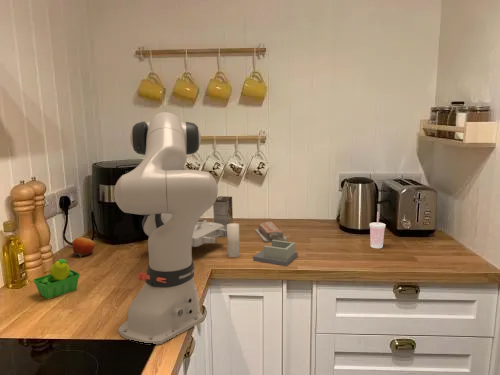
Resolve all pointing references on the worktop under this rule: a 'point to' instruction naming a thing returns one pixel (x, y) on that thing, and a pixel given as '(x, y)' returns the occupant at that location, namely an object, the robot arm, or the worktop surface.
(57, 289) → the fruit basket
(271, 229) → the packaged product
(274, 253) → the cradle jig
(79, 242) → the fruit
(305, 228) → the worktop surface
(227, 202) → the coffee box
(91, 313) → the worktop surface
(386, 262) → the worktop surface
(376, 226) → the beverage cup
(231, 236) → the tall white cylinder
